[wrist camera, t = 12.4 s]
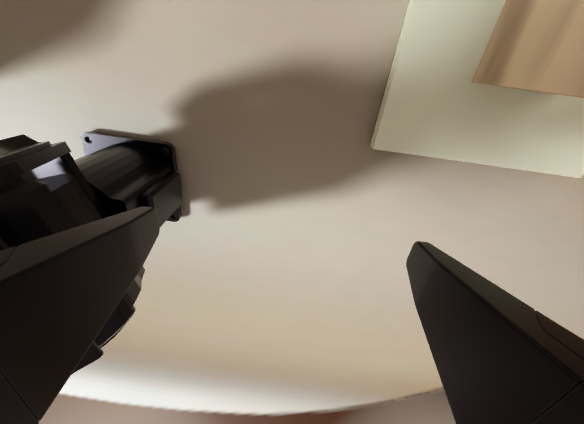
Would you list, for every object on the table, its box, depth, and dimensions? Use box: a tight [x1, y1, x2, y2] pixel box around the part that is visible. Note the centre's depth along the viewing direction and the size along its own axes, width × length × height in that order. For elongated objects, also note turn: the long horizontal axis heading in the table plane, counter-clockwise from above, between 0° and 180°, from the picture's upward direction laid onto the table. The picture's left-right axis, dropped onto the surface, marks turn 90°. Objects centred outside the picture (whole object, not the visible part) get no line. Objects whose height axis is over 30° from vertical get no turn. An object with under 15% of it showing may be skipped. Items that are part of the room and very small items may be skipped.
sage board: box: [370, 0, 584, 178], centre depth 14 cm, size 14×14×1 cm
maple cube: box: [472, 0, 584, 98], centre depth 12 cm, size 5×5×5 cm
